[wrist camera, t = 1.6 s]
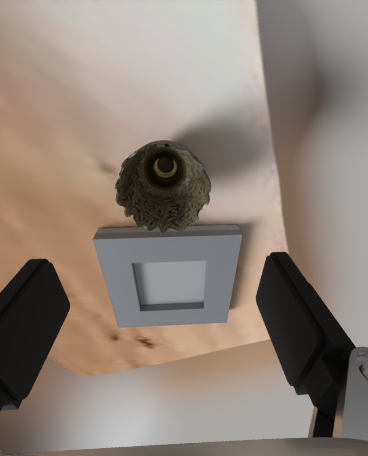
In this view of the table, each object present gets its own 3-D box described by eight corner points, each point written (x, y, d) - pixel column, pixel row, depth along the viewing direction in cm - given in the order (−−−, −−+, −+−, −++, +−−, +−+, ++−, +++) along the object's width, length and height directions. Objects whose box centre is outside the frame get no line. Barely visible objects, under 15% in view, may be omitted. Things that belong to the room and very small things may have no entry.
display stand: (98, 228, 27) (92, 239, 25) (237, 224, 28) (242, 234, 26) (121, 314, 37) (118, 327, 35) (223, 310, 38) (226, 322, 36)
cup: (148, 112, 20) (137, 123, 14) (212, 150, 23) (229, 176, 16) (121, 178, 24) (101, 212, 17) (179, 205, 26) (181, 245, 19)
